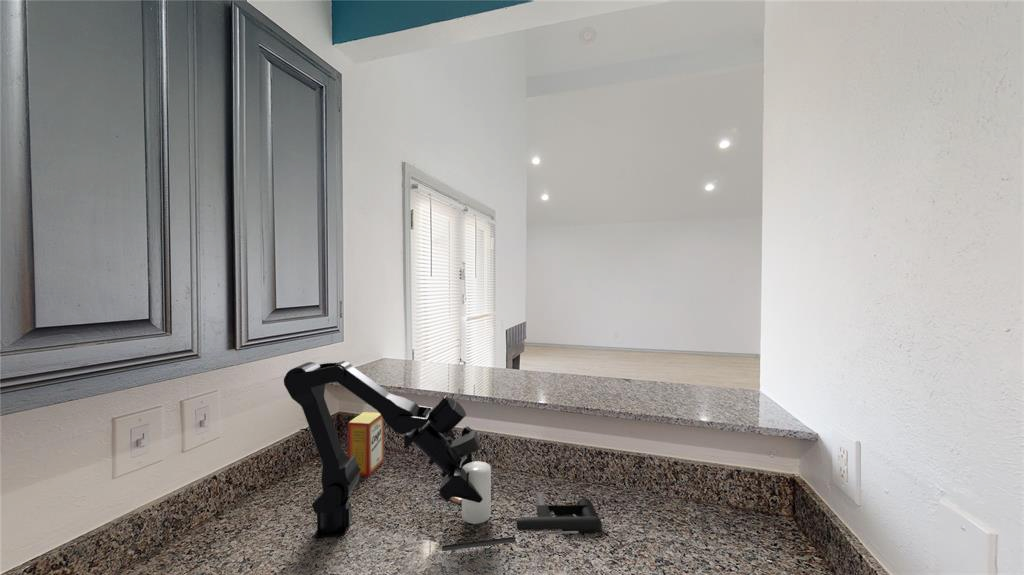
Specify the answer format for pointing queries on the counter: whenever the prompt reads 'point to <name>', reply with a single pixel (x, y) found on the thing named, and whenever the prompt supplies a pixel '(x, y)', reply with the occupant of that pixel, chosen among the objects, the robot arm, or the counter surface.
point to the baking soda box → (366, 441)
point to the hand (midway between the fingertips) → (482, 491)
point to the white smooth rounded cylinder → (482, 484)
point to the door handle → (567, 524)
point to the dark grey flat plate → (478, 543)
